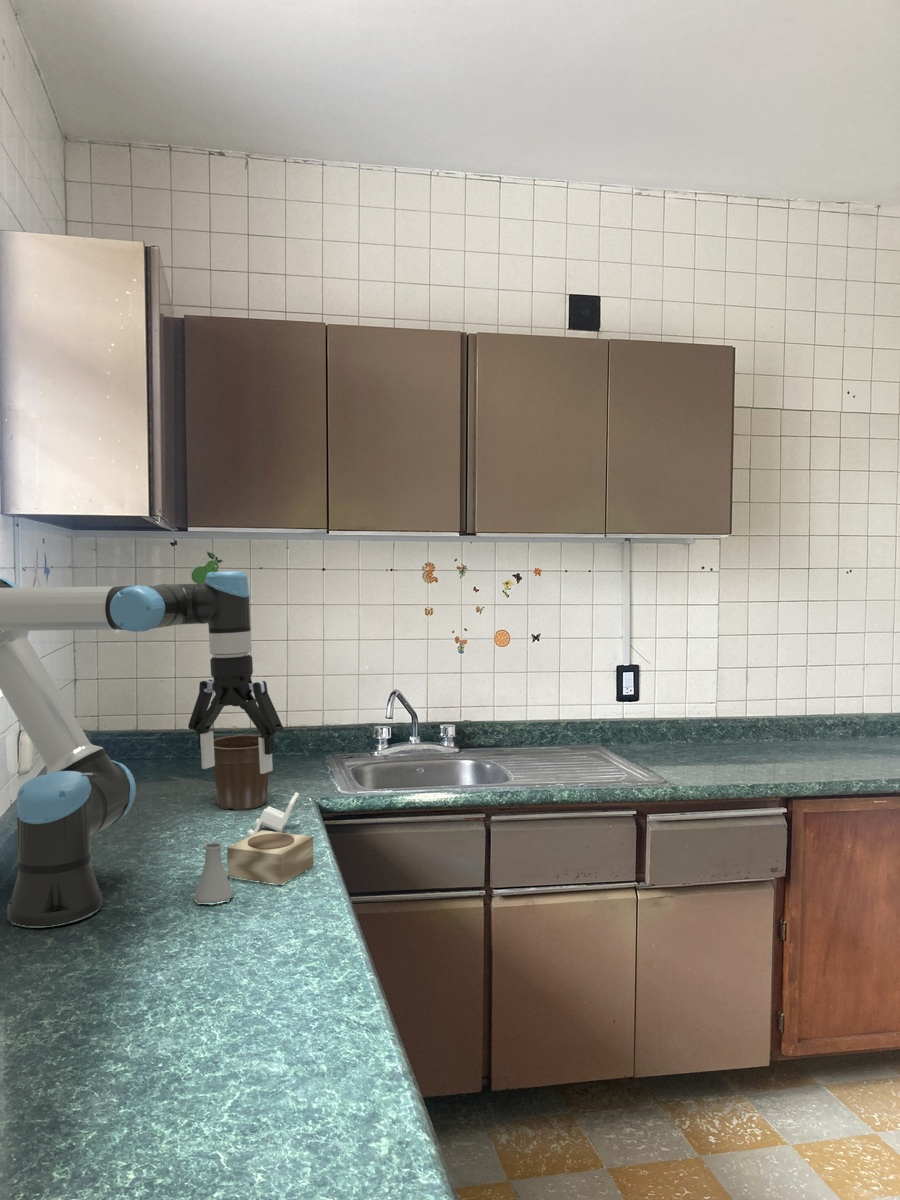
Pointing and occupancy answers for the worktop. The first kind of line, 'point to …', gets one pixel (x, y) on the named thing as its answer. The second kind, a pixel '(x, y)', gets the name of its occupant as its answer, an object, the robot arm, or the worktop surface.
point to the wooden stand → (270, 857)
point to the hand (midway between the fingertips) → (236, 769)
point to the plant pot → (239, 773)
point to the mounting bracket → (274, 818)
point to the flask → (213, 878)
